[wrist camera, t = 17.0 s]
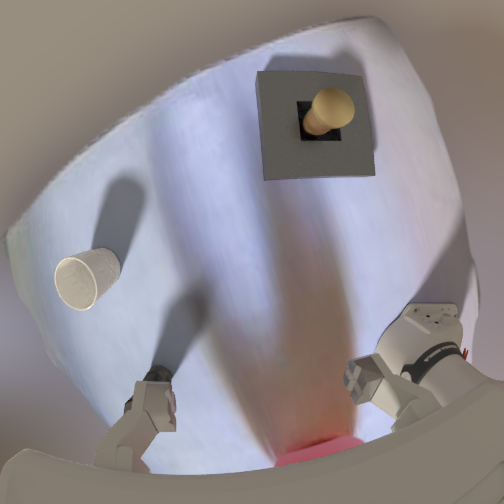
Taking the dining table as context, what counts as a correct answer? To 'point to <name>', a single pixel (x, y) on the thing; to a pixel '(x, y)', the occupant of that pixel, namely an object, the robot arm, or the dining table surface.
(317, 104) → the brass pin
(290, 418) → the dining table surface
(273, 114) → the hitch block
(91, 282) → the white cup
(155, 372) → the beverage cup
